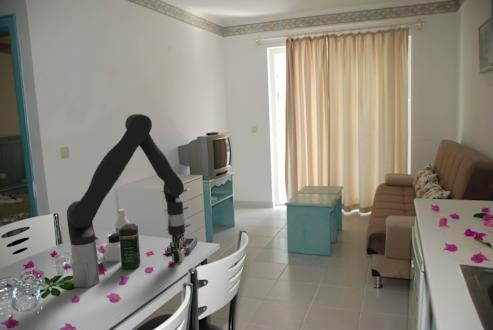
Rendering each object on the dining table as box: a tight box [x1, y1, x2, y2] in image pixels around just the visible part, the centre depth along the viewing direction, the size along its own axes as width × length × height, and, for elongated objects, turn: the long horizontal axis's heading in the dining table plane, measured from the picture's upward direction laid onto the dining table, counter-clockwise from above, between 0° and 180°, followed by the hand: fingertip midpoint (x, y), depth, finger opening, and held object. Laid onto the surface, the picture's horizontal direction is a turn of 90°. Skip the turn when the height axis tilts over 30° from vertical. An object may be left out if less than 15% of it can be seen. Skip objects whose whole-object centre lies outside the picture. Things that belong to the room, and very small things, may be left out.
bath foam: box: [115, 208, 131, 233], centre depth 199 cm, size 7×7×20 cm
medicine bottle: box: [103, 232, 121, 263], centre depth 185 cm, size 7×7×12 cm
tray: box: [166, 237, 198, 255], centre depth 196 cm, size 15×11×3 cm
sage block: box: [171, 249, 186, 263], centre depth 181 cm, size 4×4×4 cm
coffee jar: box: [119, 223, 141, 270], centre depth 176 cm, size 10×8×19 cm
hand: (178, 259), depth 181 cm, fingers closed on sage block, 4 cm apart
